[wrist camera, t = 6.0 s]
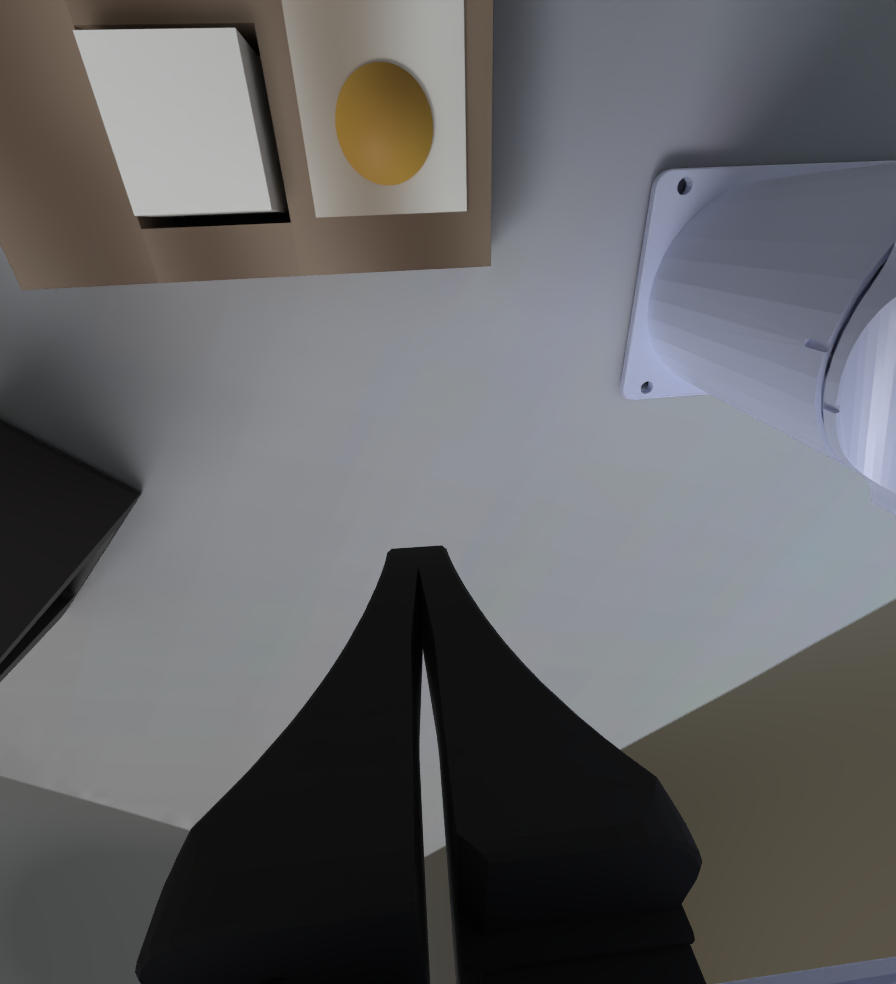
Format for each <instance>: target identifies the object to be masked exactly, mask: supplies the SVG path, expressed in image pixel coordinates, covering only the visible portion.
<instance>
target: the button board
mask: <svg viewBox="0 0 896 984" xmlns="http://www.w3.org/2000/svg"><path fill="white" fill-rule="evenodd" d="M183 28H236V29H237V30H238V32H239V33H240V34H241V35H242V37H243V38H244V39H245V40H246V42H247V43H248V44H249V45H250V47H251V48H252V49H253V50H254V52H255V53H256V54H257V55H258V56H260V57H261V62H262V68H263V73H264V78H265V84H266V89H267V95H268V100H269V106H270V111H271V116H272V122H273V127H274V133H275V138H276V144H277V149H278V154H279V160H280V165H281V171H282V176H283V182H284V187H285V192H286V198H287V203H288V209H289V214H290V220H291V223H273V224H250V225H227V226H203V227H180V228H177V226H176V222H175V219H174V218H173V217H150V216H134V213H133V210H132V207H131V204H130V201H129V198H128V195H127V192H126V189H125V186H124V183H123V180H122V177H121V174H120V171H119V168H118V165H117V162H116V159H115V156H114V153H113V150H112V147H111V144H110V141H109V138H108V135H107V132H106V129H105V126H104V123H103V120H102V117H101V114H100V111H99V108H98V105H97V102H96V99H95V96H94V93H93V90H92V87H91V84H90V81H89V78H88V75H87V72H86V69H85V66H84V63H83V60H82V57H81V54H80V51H79V48H78V45H77V42H76V39H75V36H74V33H73V30H116V29H183ZM492 74H493V0H0V245H1V247H2V249H3V251H4V253H5V255H6V258H7V260H8V262H9V264H10V266H11V268H12V270H13V272H14V274H15V276H16V279H17V281H18V283H19V285H20V287H21V289H22V290H30V289H50V288H70V287H89V286H109V285H129V284H148V283H168V282H188V281H208V280H227V279H247V278H267V277H286V276H306V275H326V274H345V273H365V272H385V271H405V270H424V269H444V268H464V267H483V266H491V187H492Z"/></svg>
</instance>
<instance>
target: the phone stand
mask: <svg viewBox="0 0 896 984" xmlns="http://www.w3.org/2000/svg"><path fill="white" fill-rule="evenodd" d="M140 495H141V494H140V493H138V492H136V491H134V490H132V489H130V488H129V487H127V486H125V485H123V484H121V483H119V482H117V481H115V480H113V479H111V478H109V477H107V476H105V475H104V474H102V473H100V472H98V471H96V470H94V469H92V468H90V467H88V466H86V465H84V464H82V463H80V462H79V461H77V460H75V459H73V458H71V457H69V456H67V455H65V454H63V453H61V452H59V451H57V450H55V449H54V448H52V447H50V446H48V445H46V444H44V443H42V442H40V441H38V440H36V439H34V438H32V437H31V436H29V435H27V434H25V433H23V432H21V431H19V430H17V429H15V428H13V427H11V426H9V425H7V424H6V423H4V422H2V421H0V682H1V681H2V680H3V679H4V678H5V677H6V676H7V675H8V673H9V672H10V671H11V670H12V669H13V668H14V667H15V666H16V665H17V664H18V663H19V662H20V661H21V660H22V659H23V658H24V656H25V655H26V654H27V653H28V652H29V651H30V650H31V649H32V648H33V647H34V646H35V645H36V644H37V643H38V642H39V641H40V640H41V638H42V637H43V636H44V635H45V634H46V633H47V632H48V631H49V630H50V629H51V628H52V627H53V626H54V625H55V624H56V623H57V621H58V620H59V619H60V618H61V617H62V616H63V614H64V613H65V612H66V610H67V609H68V607H69V606H70V604H71V603H72V601H73V599H74V598H75V596H76V595H77V593H78V592H79V590H80V589H81V587H82V585H83V584H84V582H85V581H86V579H87V578H88V576H89V575H90V573H91V571H92V570H93V568H94V567H95V565H96V564H97V562H98V561H99V558H100V557H101V555H102V554H103V553H104V551H105V550H106V548H107V547H108V545H109V543H110V542H111V540H112V539H113V537H114V536H115V534H116V533H117V531H118V529H119V528H120V526H121V525H122V523H123V522H124V520H125V519H126V517H127V515H128V514H129V512H130V511H131V509H132V508H133V506H134V505H135V503H136V501H137V500H138V498H139V497H140Z"/></svg>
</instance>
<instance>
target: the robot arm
mask: <svg viewBox="0 0 896 984" xmlns="http://www.w3.org/2000/svg"><path fill="white" fill-rule="evenodd" d="M682 178H684V179H685V181H686V188H685V191H684V192H683V193H682V194H681V195H680V194H679V193H678V190H677V186H678V183H679V181H680V180H681V179H682ZM647 381H648V387H647V388H646V389H645V390H643V391H641V386H642V384H643V383H645V382H647ZM620 391H621V393H622V395H623V396H625V397H626V398H628V399H632V400H634V399H648V398H662V397H676V396H689V395H703V394H710V395H712V396H714V397H716V398H718V399H720V400H722V401H723V402H725V403H727V404H729V405H731V406H733V407H735V408H737V409H739V410H740V411H742V412H744V413H746V414H748V415H750V416H752V417H754V418H755V419H757V420H759V421H761V422H763V423H765V424H767V425H769V426H771V427H772V428H774V429H776V430H778V431H780V432H782V433H784V434H786V435H787V436H789V437H791V438H793V439H795V440H797V441H799V442H801V443H802V444H804V445H806V446H808V447H810V448H812V449H814V450H816V451H818V452H819V453H821V454H823V455H825V456H827V457H829V458H831V459H833V460H834V461H836V462H838V463H840V464H842V465H844V466H846V467H848V468H849V469H851V470H853V471H855V472H856V473H858V474H859V475H861V476H862V477H863V478H865V480H866V481H867V483H868V485H869V487H870V491H871V502H873V503H875V504H876V505H878V506H880V507H881V508H883V509H885V510H887V511H888V512H890V513H892V514H894V515H895V516H896V160H892V161H865V162H839V163H812V164H785V165H758V166H731V167H705V168H678V169H669V170H666V171H663V172H661V173H660V174H659V175H658V176H657V177H656V179H655V180H654V182H653V185H652V189H651V195H650V201H649V207H648V214H647V220H646V226H645V233H644V239H643V245H642V252H641V258H640V264H639V271H638V277H637V283H636V290H635V296H634V302H633V309H632V315H631V321H630V327H629V334H628V340H627V346H626V353H625V359H624V365H623V372H622V378H621V384H620ZM423 653H424V659H425V665H426V671H427V678H428V684H429V690H430V696H431V702H432V709H433V715H434V721H435V727H436V734H437V741H438V749H439V758H440V771H441V785H442V798H443V811H444V825H445V838H446V852H447V865H448V879H449V892H450V907H451V920H452V934H453V948H454V962H455V976H456V984H706V982H705V980H704V978H703V975H702V972H701V970H700V967H699V965H698V963H697V960H696V958H695V955H694V953H693V950H692V948H691V945H690V944H692V943H693V942H694V941H695V939H694V934H693V930H692V928H691V925H690V923H689V921H688V918H687V916H686V913H685V911H684V909H683V906H682V902H683V900H684V899H685V897H686V896H687V894H688V892H689V891H690V889H691V888H692V886H693V884H694V883H695V881H696V879H697V877H698V874H699V871H700V868H701V864H702V859H701V856H700V853H699V850H698V848H697V846H696V844H695V842H694V839H693V838H692V835H691V833H690V831H689V829H688V827H687V825H686V823H685V822H684V820H683V818H682V817H681V815H680V813H679V812H678V810H677V808H676V807H675V805H674V803H673V802H672V800H671V799H670V797H669V795H668V794H667V792H666V791H665V790H664V788H663V786H662V784H661V783H660V781H659V780H658V778H657V777H656V776H654V775H653V774H652V773H650V772H649V771H648V770H646V769H645V768H643V767H642V766H641V765H639V764H638V763H637V762H635V761H634V760H633V759H631V758H630V757H629V756H627V755H626V754H625V753H623V752H622V751H621V750H619V749H618V748H617V747H616V746H614V745H613V744H612V743H610V742H609V741H608V740H606V739H605V738H604V737H603V736H602V735H600V734H599V733H598V732H597V731H596V730H594V729H593V728H592V727H591V726H590V725H588V724H587V723H586V722H585V721H584V720H582V719H581V718H580V717H579V716H578V715H576V714H575V713H574V712H573V711H572V710H571V709H570V708H569V707H568V706H567V705H566V704H565V703H563V702H562V701H561V700H560V699H559V698H558V697H557V696H556V695H555V694H554V693H553V692H552V691H550V690H549V689H548V688H547V687H546V686H545V685H544V684H543V683H542V682H541V681H540V680H539V679H538V678H537V677H536V676H535V675H534V674H533V673H532V672H531V671H530V670H529V669H528V668H527V667H526V666H525V664H524V663H523V662H522V661H521V660H520V659H519V658H518V657H517V656H516V654H515V653H514V652H513V651H512V650H511V649H510V648H509V646H508V645H507V644H506V643H505V642H504V640H503V639H502V638H501V637H500V636H499V634H498V633H497V632H496V630H495V629H494V628H493V626H492V625H491V624H490V623H489V621H488V620H487V619H486V617H485V616H484V614H483V613H482V612H481V610H480V609H479V607H478V606H477V604H476V603H475V601H474V600H473V598H472V597H471V595H470V594H469V592H468V591H467V589H466V587H465V586H464V584H463V582H462V581H461V579H460V577H459V575H458V573H457V572H456V570H455V568H454V566H453V564H452V562H451V560H450V557H449V555H448V552H447V549H446V548H444V547H443V546H428V547H413V548H398V549H391V550H390V551H389V552H388V553H387V557H386V561H385V564H384V567H383V570H382V573H381V576H380V578H379V581H378V583H377V586H376V588H375V590H374V593H373V595H372V597H371V599H370V601H369V603H368V605H367V608H366V610H365V612H364V614H363V616H362V617H361V619H360V621H359V623H358V625H357V626H356V628H355V630H354V632H353V634H352V635H351V637H350V639H349V641H348V643H347V644H346V646H345V648H344V649H343V651H342V652H341V654H340V656H339V657H338V659H337V660H336V662H335V663H334V665H333V666H332V668H331V669H330V671H329V672H328V674H327V675H326V677H325V678H324V680H323V681H322V682H321V684H320V685H319V686H318V688H317V689H316V691H315V692H314V693H313V695H312V696H311V697H310V699H309V700H308V701H307V703H306V704H305V705H304V707H303V708H302V709H301V710H300V712H299V713H298V714H297V716H296V717H295V718H294V719H293V720H292V722H291V723H290V724H289V725H288V726H287V728H286V729H285V730H284V731H283V732H282V733H281V735H280V736H279V737H278V738H277V739H276V740H275V741H274V743H273V744H272V745H271V746H270V747H269V748H268V749H267V751H266V752H265V753H264V754H263V755H262V756H261V757H260V759H259V760H258V761H257V762H256V763H255V764H254V765H253V766H252V768H251V769H250V770H249V771H248V772H247V773H246V774H245V775H244V776H243V777H242V778H241V779H240V780H239V781H238V782H237V783H236V784H235V785H234V786H233V787H232V788H231V789H230V790H229V791H228V792H227V793H226V794H225V795H224V796H223V797H222V798H221V799H220V800H219V801H218V802H217V803H216V804H215V805H214V806H213V807H212V808H211V809H210V810H209V811H208V812H207V813H206V814H205V815H204V816H203V817H202V818H201V819H200V820H199V821H198V822H197V823H196V824H195V825H194V826H193V827H192V829H191V830H190V832H189V834H188V836H187V838H186V840H185V842H184V844H183V846H182V848H181V850H180V852H179V854H178V856H177V858H176V861H175V863H174V865H173V868H172V870H171V872H170V874H169V876H168V878H167V880H166V882H165V885H164V887H163V889H162V892H161V895H160V897H159V900H158V903H157V905H156V908H155V911H154V914H153V918H152V920H151V923H150V926H149V928H148V932H147V934H146V937H145V940H144V943H143V946H142V949H141V951H140V954H139V957H138V960H137V965H136V970H135V973H136V975H137V977H138V979H139V981H140V983H141V984H430V972H429V951H428V930H427V909H426V890H425V869H424V846H423V825H422V804H421V782H420V760H419V735H420V709H421V683H422V655H423ZM717 984H896V957H889V958H883V959H876V960H869V961H863V962H857V963H849V964H843V965H836V966H830V967H824V968H816V969H810V970H803V971H797V972H790V973H783V974H777V975H770V976H763V977H757V978H750V979H744V980H737V981H730V982H723V983H717Z"/></svg>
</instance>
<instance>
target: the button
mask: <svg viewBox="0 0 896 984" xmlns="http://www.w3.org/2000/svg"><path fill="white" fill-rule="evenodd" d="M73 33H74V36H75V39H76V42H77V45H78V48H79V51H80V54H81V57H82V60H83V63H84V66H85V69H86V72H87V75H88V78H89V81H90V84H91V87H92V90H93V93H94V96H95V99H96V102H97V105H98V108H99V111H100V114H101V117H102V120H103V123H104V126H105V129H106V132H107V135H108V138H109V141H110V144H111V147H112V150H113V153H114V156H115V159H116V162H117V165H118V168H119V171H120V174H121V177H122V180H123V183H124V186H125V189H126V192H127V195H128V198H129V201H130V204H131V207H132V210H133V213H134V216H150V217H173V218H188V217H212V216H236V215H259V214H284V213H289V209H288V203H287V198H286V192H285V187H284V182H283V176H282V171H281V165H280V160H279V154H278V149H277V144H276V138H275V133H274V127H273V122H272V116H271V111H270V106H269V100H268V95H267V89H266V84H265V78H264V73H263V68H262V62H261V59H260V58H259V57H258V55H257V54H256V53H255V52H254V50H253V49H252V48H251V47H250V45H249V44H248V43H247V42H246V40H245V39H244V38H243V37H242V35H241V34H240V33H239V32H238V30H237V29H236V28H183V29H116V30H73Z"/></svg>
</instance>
